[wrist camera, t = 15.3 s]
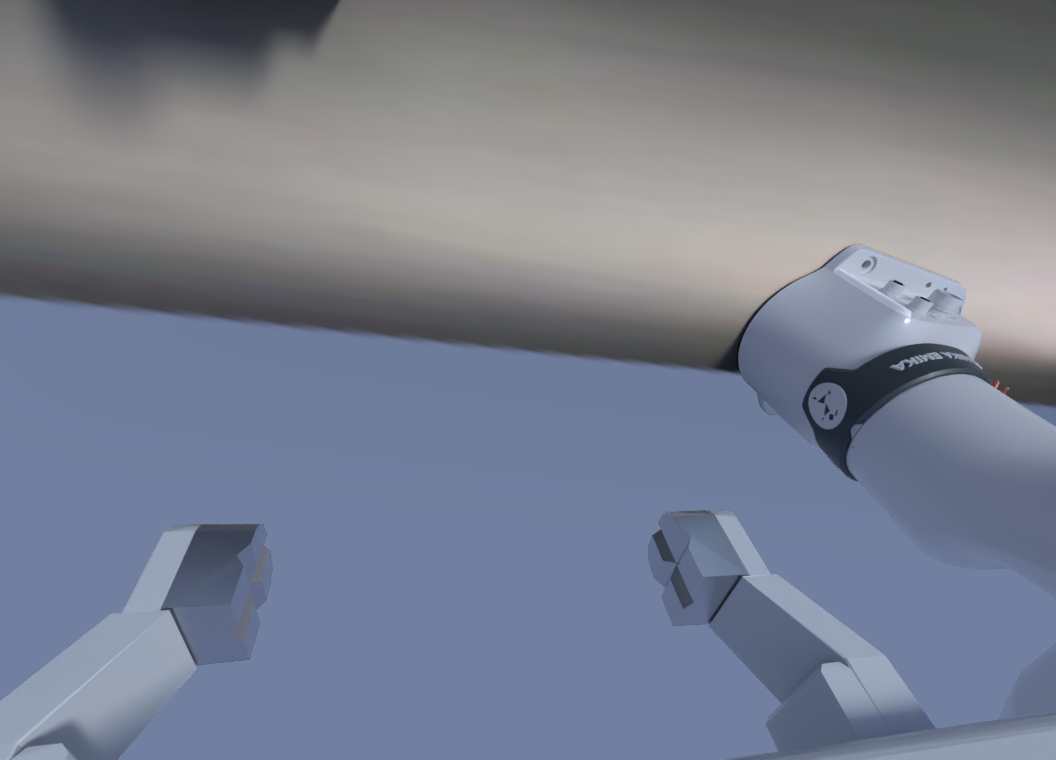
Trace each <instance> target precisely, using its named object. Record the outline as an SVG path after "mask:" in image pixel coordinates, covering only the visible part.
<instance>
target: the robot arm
mask: <svg viewBox="0 0 1056 760" xmlns="http://www.w3.org/2000/svg"><path fill="white" fill-rule="evenodd" d="M966 292H967V289H966V288H965V287H964V286H963V285H961V284H960V283H958V282H957V281H954V280H952V279H949V278H947V277H944V276H942V275H939V274H936V273H934V272H931V271H928V270H926V269H923V268H920V267H918V266H915V265H913V264H910V263H907V262H905V261H902V260H899V259H897V258H894V257H892V256H889V255H886V254H884V253H881V252H878V251H876V250H873V249H870V248H868V247H865V246H863V245H853V246H850V247H848V248H847V249H845V250H844V251H842V252H841V253H840V254H839V255H837V256H836V257H835V258H834V259H832V260H831V261H830V262H829V263H828V264H827V265H826V266H824V267H823V268H821V269H820V270H818V271H816V272H814V273H812V274H810V275H807V276H805V277H803V278H801V279H799V280H797V281H795V282H794V283H792V284H790V285H789V286H787V287H786V288H784V289H783V290H781V291H780V292H779V293H777V294H776V295H775V296H774V297H772V298H771V299H770V300H769V301H768V302H767V303H766V304H765V305H764V306H763V307H762V308H761V309H760V311H759V312H758V313H757V314H756V316H755V317H754V318H753V320H752V321H751V323H750V324H749V326H748V328H747V330H746V332H745V334H744V336H743V338H742V341H741V344H740V348H739V354H738V364H739V369H740V372H741V375H742V377H743V378H744V380H745V381H746V382H747V383H748V384H749V385H750V386H751V387H752V388H753V389H754V390H755V391H756V392H757V394H758V400H759V404H760V406H761V408H762V409H763V410H764V411H765V412H766V413H767V414H769V415H776V414H778V415H779V416H780V417H781V418H782V419H783V420H784V421H785V422H786V423H788V424H789V425H790V426H791V427H792V428H793V429H794V430H795V431H796V432H797V433H798V434H799V435H800V436H801V437H802V438H803V439H804V440H806V441H807V442H808V443H809V444H810V445H811V446H813V447H814V448H817V449H820V448H821V449H822V450H823V451H824V452H825V454H826V455H827V457H828V459H829V460H830V461H831V462H832V463H833V464H834V465H835V466H836V467H837V468H839V469H840V470H841V471H842V472H843V473H844V474H845V475H846V476H847V477H849V478H850V479H852V480H855V481H858V482H859V483H860V484H861V485H862V486H863V487H864V488H865V489H866V491H867V492H868V493H869V494H870V495H871V496H872V497H873V498H874V499H875V500H876V502H877V503H878V504H879V505H880V506H881V507H882V508H883V509H884V511H885V512H886V513H887V514H888V515H889V516H890V517H891V518H892V519H893V521H894V522H895V523H896V524H897V525H898V526H899V527H900V528H901V529H902V531H903V532H904V533H905V534H906V535H907V536H908V537H909V538H910V539H911V541H912V542H913V543H914V544H915V545H916V546H917V547H918V548H919V549H920V550H922V551H923V552H924V553H926V554H927V555H929V556H931V557H932V558H934V559H937V560H939V561H941V562H944V563H947V564H950V565H954V566H960V567H964V568H972V569H1010V570H1012V571H1014V572H1016V573H1018V574H1020V575H1021V576H1023V577H1025V578H1026V579H1028V580H1029V581H1031V582H1033V583H1034V584H1036V585H1037V586H1039V587H1040V588H1041V589H1043V590H1044V591H1046V592H1047V593H1048V594H1050V595H1051V596H1052V597H1054V598H1055V599H1056V427H1055V426H1054V425H1052V424H1050V423H1049V422H1047V421H1046V420H1044V419H1042V418H1040V417H1039V416H1038V415H1036V414H1034V413H1033V412H1031V411H1030V410H1028V409H1026V408H1025V407H1023V406H1022V405H1020V404H1019V403H1017V402H1016V401H1014V400H1012V399H1011V398H1009V397H1008V396H1006V395H1005V393H1006V392H1007V390H1008V389H1009V388H1008V387H1006V388H1004V389H1003V390H1002V391H1001V392H1000V391H999V390H997V387H998V385H999V381H994V382H993V383H992V381H991V380H990V378H989V377H988V376H987V375H986V374H985V373H984V372H983V371H982V369H983V368H982V367H981V366H980V365H979V364H978V363H977V362H976V361H974V359H975V356H976V354H977V352H978V349H979V346H980V342H981V332H980V329H979V327H978V326H976V325H975V324H974V323H972V322H971V321H969V320H967V319H966V318H964V317H963V316H961V315H960V314H961V311H962V309H963V306H964V303H965V299H966ZM658 523H659V525H660V528H661V530H659V531H658V532H657V533H655V534H654V535H652V538H651V540H650V543H649V545H648V559H649V564H650V568H651V571H652V574H653V576H654V578H655V579H656V580H657V581H658V582H659V583H660V584H662V585H663V586H664V589H663V593H662V600H663V602H664V604H665V607H666V609H667V612H668V615H669V617H670V619H671V622H672V624H673V626H680V625H681V626H682V625H700V624H710V625H709V627H710V628H711V629H712V630H713V631H714V633H715V634H716V635H717V636H718V637H719V638H720V639H721V640H722V641H723V642H724V643H725V644H726V645H727V646H728V647H729V648H730V649H731V650H732V652H733V653H734V654H735V655H737V657H738V658H739V659H740V660H741V661H742V662H743V663H744V664H745V665H746V666H747V667H748V668H749V670H751V672H752V673H753V674H754V675H755V676H756V677H757V678H758V679H759V680H760V681H761V682H762V683H763V684H764V685H765V686H766V687H767V688H768V690H769V691H770V692H771V693H772V694H773V695H774V696H775V697H776V698H777V699H778V700H779V701H780V702H781V703H782V704H781V705H780V706H779V707H778V708H777V709H776V710H775V711H774V712H773V713H772V714H771V715H770V716H769V717H768V720H767V722H766V726H767V728H768V730H769V732H770V734H771V737H772V739H773V741H774V743H775V745H776V747H777V750H778V752H773V753H765V754H758V755H751V756H744V757H738V758H731V759H724V760H1056V643H1055V644H1054V645H1052V646H1051V647H1050V648H1049V649H1047V651H1045V652H1044V653H1043V654H1041V655H1040V656H1039V657H1038V658H1037V659H1035V660H1034V661H1033V662H1032V663H1031V664H1029V665H1028V666H1027V667H1026V668H1025V669H1024V670H1023V671H1022V672H1021V673H1020V675H1019V677H1018V678H1017V680H1016V682H1015V684H1014V686H1013V688H1012V690H1011V692H1010V694H1009V695H1008V697H1007V700H1006V702H1005V704H1004V707H1003V710H1002V712H1001V715H1000V717H999V719H998V720H992V721H985V722H978V723H971V724H965V725H958V726H951V727H944V728H937V729H936V728H935V726H934V725H933V724H932V722H931V721H930V719H929V718H928V716H927V715H926V714H925V712H924V711H923V709H922V708H921V706H920V705H919V704H918V702H917V701H916V699H915V698H914V696H913V695H912V693H911V692H910V691H909V689H908V688H907V686H906V685H905V684H904V682H903V681H902V679H901V678H900V676H899V675H898V673H897V672H896V671H895V669H894V668H893V666H892V665H891V663H890V662H889V661H888V659H887V658H886V656H885V655H884V654H882V653H881V652H879V651H878V650H877V649H876V648H874V647H873V646H872V645H870V644H869V643H868V642H866V641H865V640H864V639H862V638H861V637H859V636H858V635H857V634H856V633H854V632H853V631H852V630H850V629H849V628H848V627H846V626H845V625H844V624H842V623H841V622H840V621H838V620H837V619H836V618H834V617H833V616H831V615H830V614H829V613H828V612H826V611H825V610H824V609H822V608H821V607H820V606H818V605H817V604H816V603H814V602H813V601H812V600H810V599H809V598H808V597H806V596H805V595H804V594H802V593H801V592H800V591H798V590H797V589H796V588H794V587H793V586H792V585H790V584H789V583H788V582H786V581H785V580H784V579H783V578H781V577H780V576H779V575H777V574H770V572H769V571H768V569H767V567H766V566H765V564H764V563H763V561H762V559H761V558H760V556H759V554H758V553H757V551H756V549H755V548H754V546H753V544H752V543H751V541H750V539H749V538H748V536H747V534H746V533H745V531H744V530H743V528H742V526H741V524H740V523H739V521H738V520H737V518H736V516H735V515H734V514H733V513H732V512H731V511H729V510H720V511H705V510H703V511H680V512H666V513H665V514H663V515H662V516H661V518H660V520H659V522H658ZM266 536H267V534H266V531H265V527H264V524H199V525H197V524H196V525H170V526H169V527H168V528H167V529H166V530H165V531H164V532H163V533H162V535H161V536H160V538H159V540H158V542H157V544H156V546H155V548H154V550H153V552H152V554H151V556H150V558H149V560H148V562H147V564H146V566H145V568H144V570H143V572H142V573H141V575H140V577H139V579H138V581H137V583H136V585H135V587H134V589H133V591H132V593H131V595H130V597H129V599H128V601H127V603H126V604H125V606H124V609H123V610H122V612H120V613H119V612H118V613H111V614H110V615H108V616H107V617H106V618H105V619H103V620H102V621H101V622H99V623H98V624H97V625H96V626H95V627H93V628H92V629H91V630H89V631H88V632H87V633H86V634H84V635H83V636H82V637H81V638H79V639H78V640H77V641H76V642H74V643H73V644H72V645H70V646H69V647H68V648H67V649H66V650H64V651H63V652H62V653H60V654H59V655H58V656H57V657H56V658H54V659H53V660H52V661H51V662H49V663H48V664H47V665H45V666H44V667H43V668H41V669H40V670H39V671H38V672H37V673H35V674H34V675H33V676H32V677H30V678H29V679H28V680H26V681H25V682H24V683H23V684H21V685H20V686H19V687H17V688H16V689H15V690H14V691H12V692H11V693H10V694H9V695H8V696H6V697H5V698H4V699H2V700H1V701H0V760H117V759H118V758H119V757H120V756H121V755H122V753H123V752H124V751H125V750H126V749H127V748H128V747H129V745H130V744H131V743H132V742H133V741H134V740H135V739H136V738H137V736H138V735H139V734H140V733H141V732H142V731H143V730H144V728H145V727H146V726H147V725H148V724H149V723H150V722H151V721H152V719H153V718H154V717H155V716H156V715H157V714H158V713H159V711H160V710H161V709H162V708H163V707H164V706H165V705H166V703H167V702H168V701H169V700H170V699H171V698H172V696H173V695H174V694H175V693H176V692H177V691H178V690H179V689H180V687H181V686H182V685H183V684H184V683H185V682H186V681H187V679H188V678H189V677H190V676H191V675H192V674H193V672H194V671H195V670H196V669H197V667H196V665H205V664H214V663H224V662H233V661H242V660H250V657H251V653H252V650H253V647H254V643H255V640H256V636H257V632H258V629H259V625H260V621H259V617H258V614H257V609H258V608H259V607H260V606H261V605H262V604H263V603H264V602H265V601H266V600H267V596H268V592H269V589H270V584H271V576H272V555H271V551H270V549H268V548H267V547H265V546H264V543H265V540H266Z"/></svg>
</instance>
